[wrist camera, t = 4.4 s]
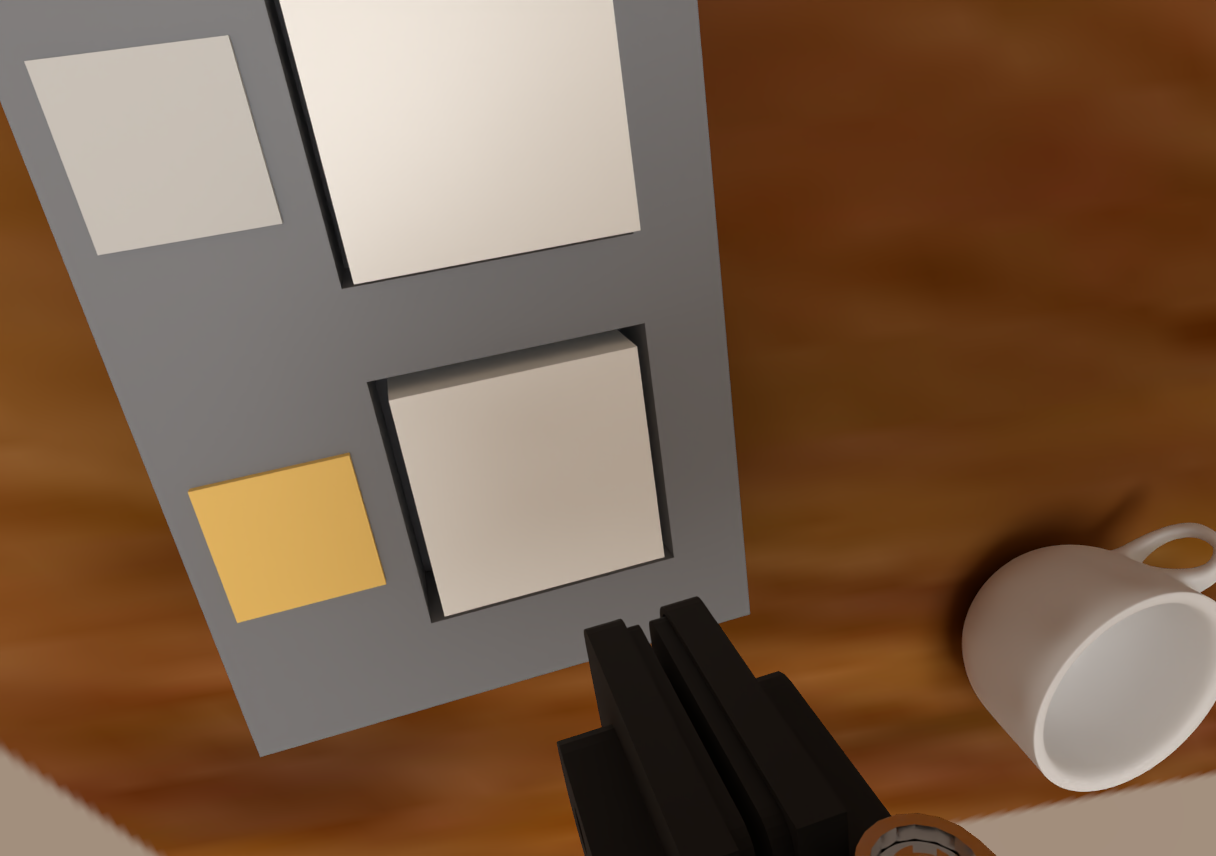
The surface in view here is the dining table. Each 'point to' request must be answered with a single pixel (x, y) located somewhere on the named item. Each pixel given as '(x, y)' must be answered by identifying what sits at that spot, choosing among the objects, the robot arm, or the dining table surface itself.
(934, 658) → the dining table surface
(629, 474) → the end button
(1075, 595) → the teacup
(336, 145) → the middle button
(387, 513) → the button panel
